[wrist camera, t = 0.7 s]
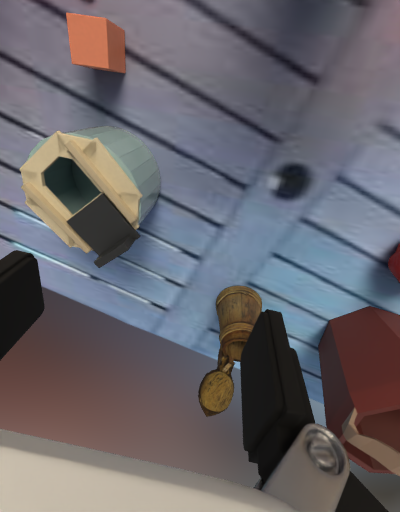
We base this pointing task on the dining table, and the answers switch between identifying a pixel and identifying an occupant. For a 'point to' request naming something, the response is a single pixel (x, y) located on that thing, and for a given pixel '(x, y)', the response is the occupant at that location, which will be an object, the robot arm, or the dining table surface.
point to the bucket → (364, 386)
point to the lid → (96, 169)
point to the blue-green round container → (124, 153)
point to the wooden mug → (229, 345)
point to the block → (96, 43)
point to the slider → (104, 229)
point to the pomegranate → (395, 263)
